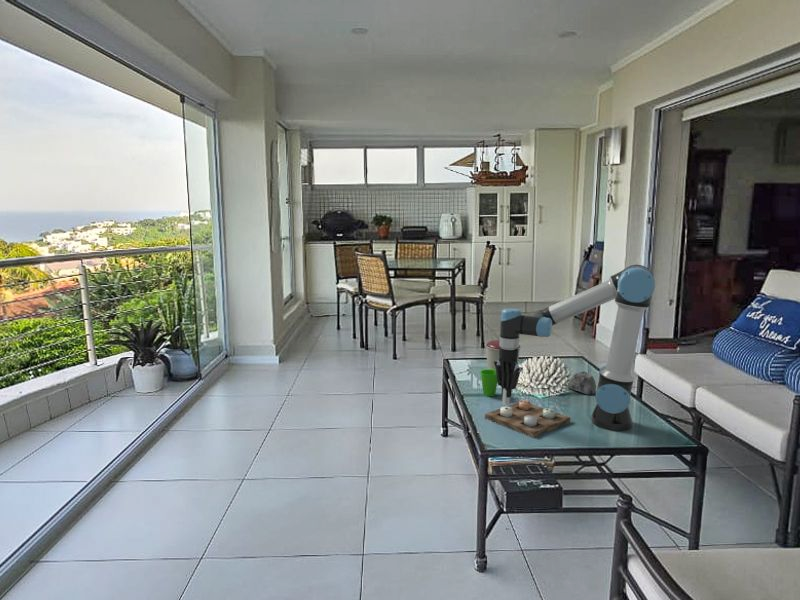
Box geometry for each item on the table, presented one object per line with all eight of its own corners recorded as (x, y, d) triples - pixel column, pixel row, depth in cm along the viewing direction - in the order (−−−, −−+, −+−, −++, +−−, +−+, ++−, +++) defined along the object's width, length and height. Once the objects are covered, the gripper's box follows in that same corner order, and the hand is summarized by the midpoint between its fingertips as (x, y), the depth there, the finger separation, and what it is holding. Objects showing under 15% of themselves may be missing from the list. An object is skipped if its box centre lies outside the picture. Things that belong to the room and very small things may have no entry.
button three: (532, 409, 228) (533, 402, 227) (525, 411, 225) (526, 404, 224) (523, 406, 231) (524, 398, 231) (516, 408, 228) (516, 401, 228)
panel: (570, 422, 218) (570, 417, 218) (533, 437, 203) (533, 432, 203) (522, 405, 237) (522, 401, 236) (484, 418, 222) (485, 413, 221)
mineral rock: (563, 387, 261) (564, 367, 260) (583, 385, 264) (584, 365, 262) (577, 396, 249) (579, 375, 247) (598, 394, 251) (600, 373, 250)
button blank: (539, 425, 211) (539, 417, 211) (531, 428, 208) (531, 420, 208) (529, 421, 215) (529, 414, 214) (521, 424, 212) (521, 417, 211)
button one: (514, 416, 220) (514, 408, 220) (506, 418, 217) (507, 411, 217) (505, 412, 224) (505, 405, 223) (497, 415, 221) (497, 407, 220)
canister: (479, 372, 284) (480, 333, 280) (511, 370, 287) (513, 331, 284) (490, 383, 266) (492, 341, 263) (525, 381, 270) (527, 340, 266)
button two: (557, 417, 219) (557, 410, 218) (550, 420, 216) (550, 413, 215) (547, 414, 222) (547, 406, 222) (540, 417, 219) (540, 409, 219)
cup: (500, 398, 245) (501, 375, 243) (480, 398, 245) (481, 374, 244) (497, 391, 254) (498, 369, 252) (478, 391, 254) (478, 368, 253)
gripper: (528, 349, 213) (524, 406, 217) (502, 342, 223) (499, 397, 227) (515, 352, 209) (512, 410, 213) (490, 345, 218) (487, 401, 223)
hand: (505, 403), depth 220 cm, fingers closed
